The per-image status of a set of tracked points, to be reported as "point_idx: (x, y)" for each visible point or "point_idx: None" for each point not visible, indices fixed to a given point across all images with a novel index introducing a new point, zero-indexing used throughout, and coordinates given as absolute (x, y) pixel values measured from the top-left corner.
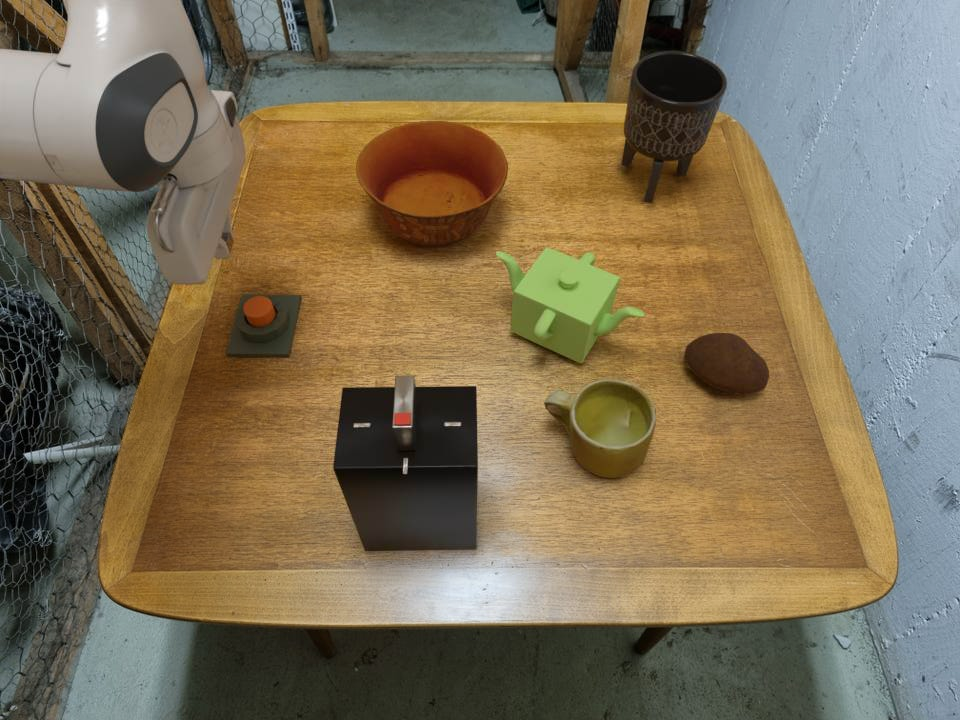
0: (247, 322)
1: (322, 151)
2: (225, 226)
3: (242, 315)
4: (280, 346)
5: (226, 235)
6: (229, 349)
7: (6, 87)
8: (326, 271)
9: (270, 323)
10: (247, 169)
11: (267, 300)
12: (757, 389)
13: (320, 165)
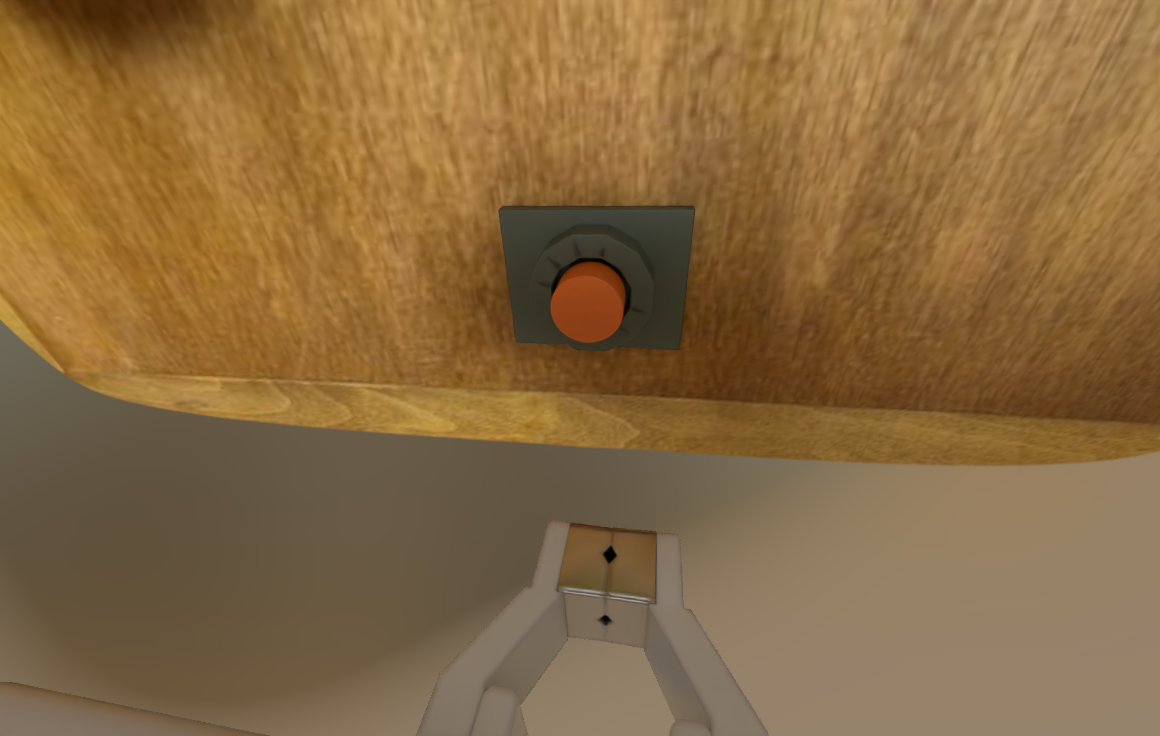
0: None
1: (43, 231)
2: (540, 631)
3: None
4: (667, 234)
5: (583, 599)
6: (668, 344)
7: None
8: (402, 151)
9: None
10: (196, 377)
11: (565, 289)
12: None
13: (86, 229)
